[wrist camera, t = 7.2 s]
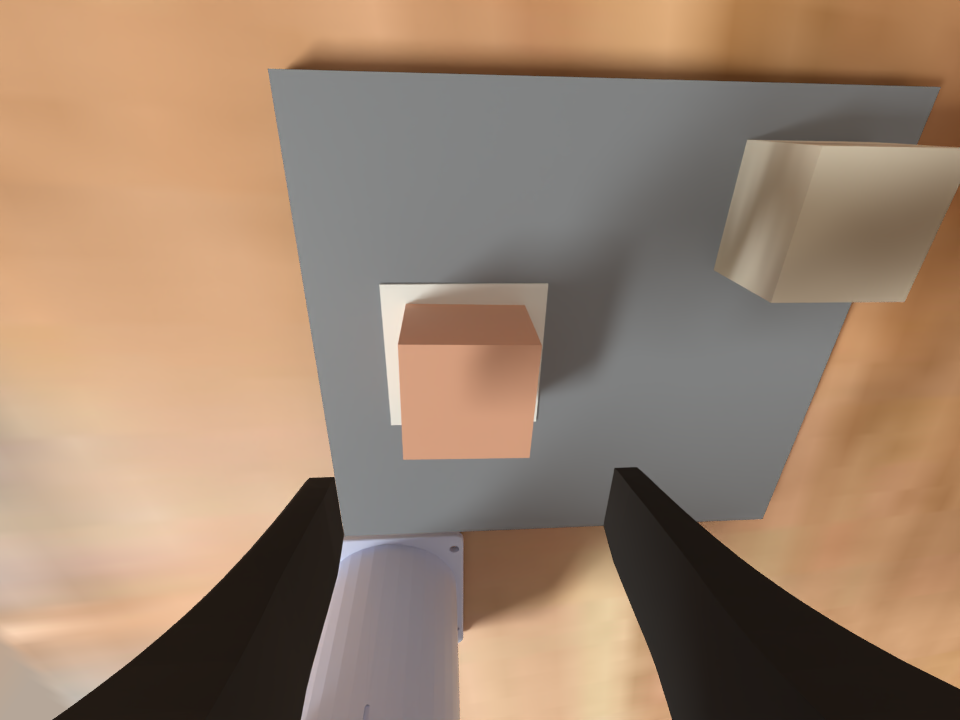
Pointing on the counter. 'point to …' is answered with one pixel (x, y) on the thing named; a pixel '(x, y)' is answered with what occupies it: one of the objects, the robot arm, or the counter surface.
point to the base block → (467, 381)
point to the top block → (835, 218)
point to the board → (558, 279)
